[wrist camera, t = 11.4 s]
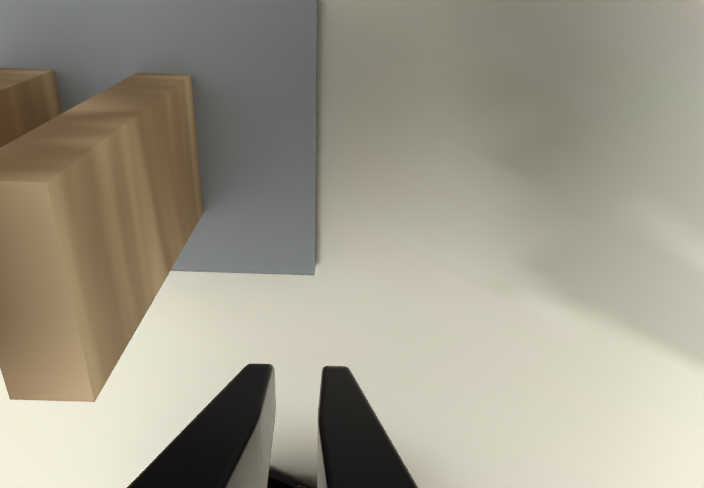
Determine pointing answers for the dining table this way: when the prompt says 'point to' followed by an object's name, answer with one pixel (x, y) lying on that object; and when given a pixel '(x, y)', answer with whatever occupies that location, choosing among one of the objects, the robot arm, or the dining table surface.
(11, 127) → the domino
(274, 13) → the mat
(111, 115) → the domino
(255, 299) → the dining table surface
